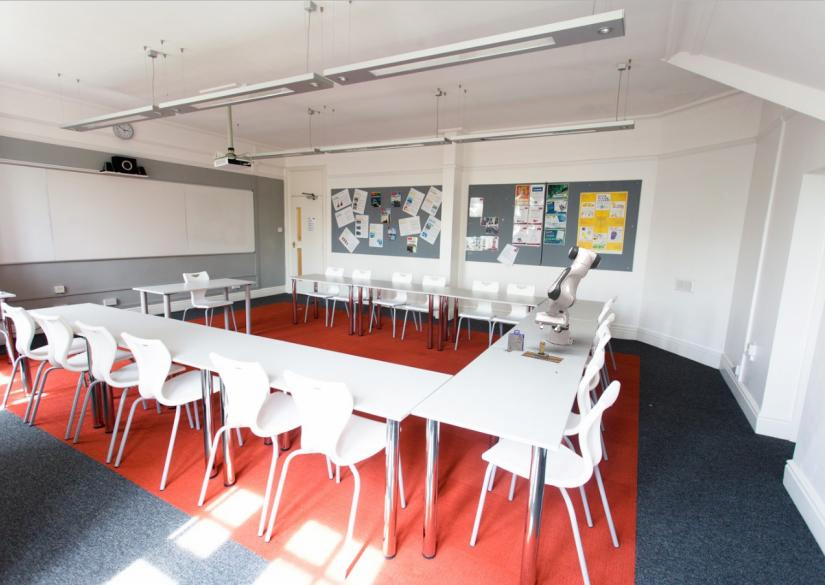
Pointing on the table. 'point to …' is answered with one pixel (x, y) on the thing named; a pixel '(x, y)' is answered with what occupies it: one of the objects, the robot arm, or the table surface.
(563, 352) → the table surface
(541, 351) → the brass copper-topped peg
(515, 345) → the ink cartridge box
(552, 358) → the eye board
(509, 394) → the table surface
